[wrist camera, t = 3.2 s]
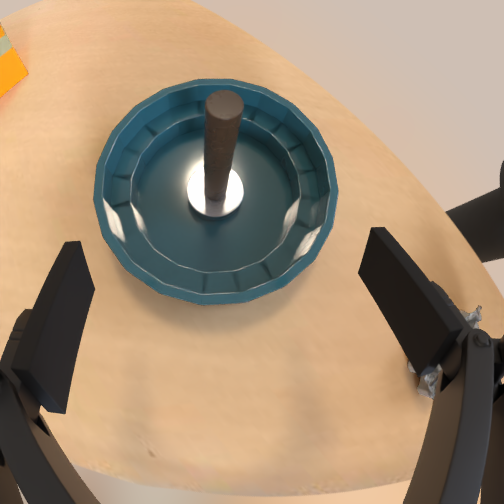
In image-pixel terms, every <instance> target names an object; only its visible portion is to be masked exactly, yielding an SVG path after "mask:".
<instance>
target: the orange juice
mask: <svg viewBox="0 0 504 504" xmlns="http://www.w3.org/2000/svg"><path fill="white" fill-rule="evenodd" d="M26 75H28V72H27V70H26V68H25V67H24V65H23V63H22V61H21V59H20V58H19V56H18V54H17V52H16V51H15V49H14V47H13V45H12V44H11V42H10V40H9V38H8V37H7V35H6V33H5V31H4V29H3V27H2V25H1V23H0V97H2V96H3V95H4V94H5V93H6V92H7V91H8V90H10V89H11V88H12V87H13V86H14V85H15V84H17V83H18V82H19V81H20V80H21V79H23V78H24V77H25V76H26Z"/></svg>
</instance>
